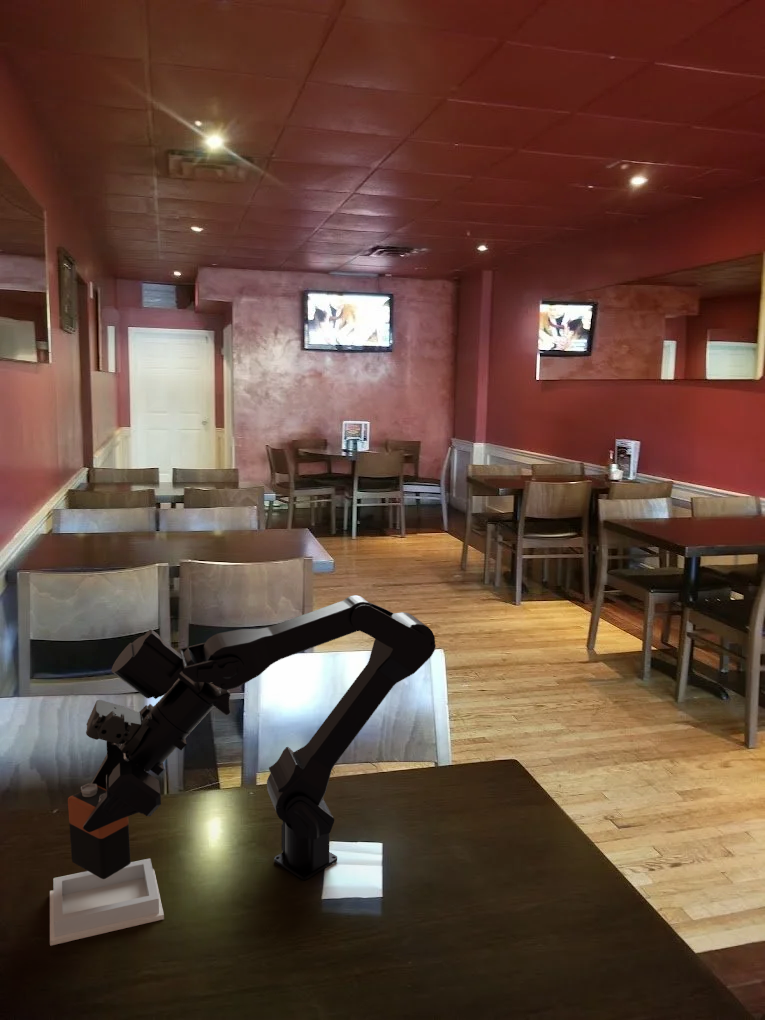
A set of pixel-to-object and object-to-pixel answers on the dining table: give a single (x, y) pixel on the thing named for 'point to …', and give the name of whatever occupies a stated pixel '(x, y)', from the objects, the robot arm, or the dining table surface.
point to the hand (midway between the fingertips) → (86, 812)
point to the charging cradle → (103, 902)
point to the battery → (97, 836)
